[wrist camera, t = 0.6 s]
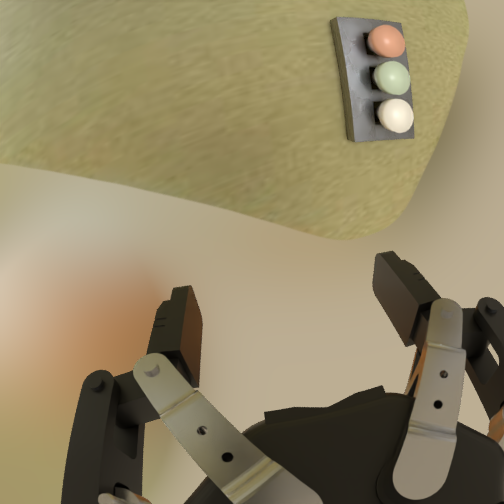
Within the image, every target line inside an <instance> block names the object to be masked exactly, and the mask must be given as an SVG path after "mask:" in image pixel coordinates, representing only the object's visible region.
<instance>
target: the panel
mask: <svg viewBox="0 0 504 504" xmlns="http://www.w3.org/2000/svg"><path fill="white" fill-rule="evenodd" d="M330 24H331V29H332V34H333V39H334V44H335V49H336V55H337V61H338V67H339V73H340V80H341V87H342V94H343V102H344V110H345V119H346V129H347V139H348V140H351V141H353V142H364V141H376V140H392V139H412V138H414V119H413V123H412V126H411V127H410V129H409V130H407V131H406V132H403V133H397V132H394V131H391V130H388V129H386V128H385V127H384V126H383V125H382V124H381V122H375V116H374V105H373V101H384V100H386V99H389V98H394V99H401V100H404V101H406V102H407V103H408V104H409V105H410V107H411V109H412V111H413V104H412V92H411V83H410V86H409V89H408V90H407V91H406V92H405V93H404V94H401V95H394V94H387V93H385V92H383V91H382V90H380V89H372V87H371V80H370V72H369V68H376V67H377V66H378V65H379V64H380V63H382V62H389V61H396V62H399V63H401V64H402V65H403V66H404V67H405V68H406V69H407V71H408V73H409V66H408V59H407V53H406V47H405V50H404V52H403V53H402V55H400V56H398V57H392V58H383V57H381V56H379V55H367V53H366V47H365V42H364V36H369V33H370V31H371V30H372V29H373V28H376V27H379V26H381V25H390V26H392V27H394V28H396V29H397V30H398V31H399V32H400V33H401V34H402V36H403V31H402V26H401V23H397V22H390V21H383V20H374V19H364V18H350V17H336V18H334V19H332V20H331V21H330ZM403 38H404V36H403ZM409 75H410V74H409Z"/></svg>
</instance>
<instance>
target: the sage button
mask: <svg viewBox="0 0 504 504" xmlns="http://www.w3.org/2000/svg"><path fill="white" fill-rule="evenodd" d="M372 81H373V83H374V84H375V85H377V86H378V87H379V89H380V90H382V91H383V92H385V93H387V94H394V95H401V94H404V93H405V92H406V91H407V90H408V89H409V86H410V75H409V73H408V71H407V69H406V68H405V67H404V66H403V65H402V64H401V63H399V62H396V61H389V62H382V63H380V64H379V65H378V66H377V67H376V69H375V71H374V72H373V73H372Z"/></svg>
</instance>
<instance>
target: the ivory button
mask: <svg viewBox="0 0 504 504" xmlns="http://www.w3.org/2000/svg"><path fill="white" fill-rule="evenodd" d="M376 116H377V118H378V119H379V120H380V122H381V124H382V125H383V126H384V127H385V128H386V129H388V130H391V131H394V132H397V133H403V132H406V131H407V130H409V129H410V127H411V126H412V123H413V111H412V109H411V107H410V105H409V104H408V103H407V102H406V101H404V100H401V99H394V98H389V99H386V100H384V101H383V102H382V103H381V104H380V105H379V106H377V108H376Z"/></svg>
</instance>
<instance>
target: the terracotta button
mask: <svg viewBox="0 0 504 504" xmlns="http://www.w3.org/2000/svg"><path fill="white" fill-rule="evenodd" d="M366 45H367V47H368V49H369V50H370V51H372V52H374V53H376V54H377V55H379V56H381V57H383V58H392V57H398V56H400V55H402V53H403V52H404V50H405V41H404V38H403V36H402V34H401V33H400V32H399V31H398V30H397V29H396V28H394V27H392V26H390V25H381V26H379V27H376V28H373V29H372V30H371V31H370V33H369V36H368V39H367V41H366Z"/></svg>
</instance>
